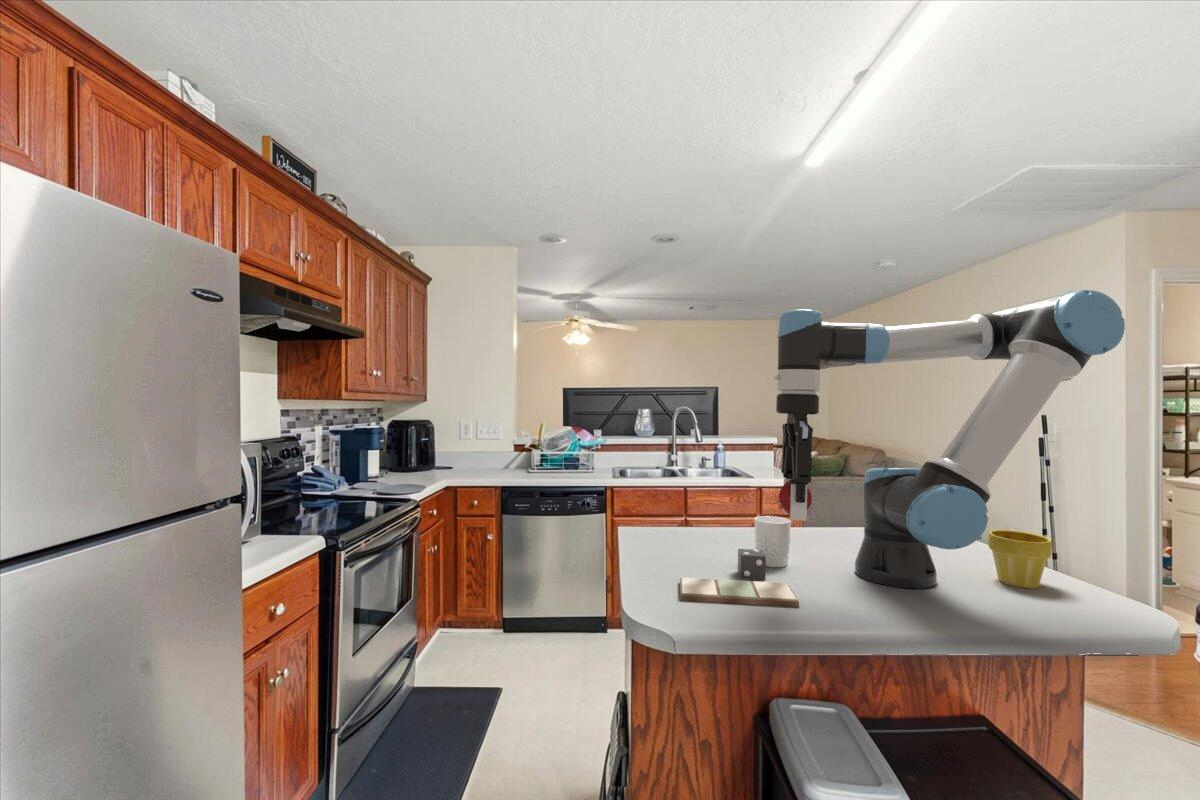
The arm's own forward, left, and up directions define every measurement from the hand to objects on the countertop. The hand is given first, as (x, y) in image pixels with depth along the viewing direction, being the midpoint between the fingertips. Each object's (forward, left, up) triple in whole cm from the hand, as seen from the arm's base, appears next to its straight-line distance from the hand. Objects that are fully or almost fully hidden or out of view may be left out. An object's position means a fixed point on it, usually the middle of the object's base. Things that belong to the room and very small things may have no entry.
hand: (794, 515), depth 102 cm
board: (+11, 0, -15) cm, 19 cm away
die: (+6, -12, -15) cm, 21 cm away
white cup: (0, -22, -16) cm, 27 cm away
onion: (0, 0, 0) cm, 0 cm away
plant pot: (-48, -16, -16) cm, 53 cm away
